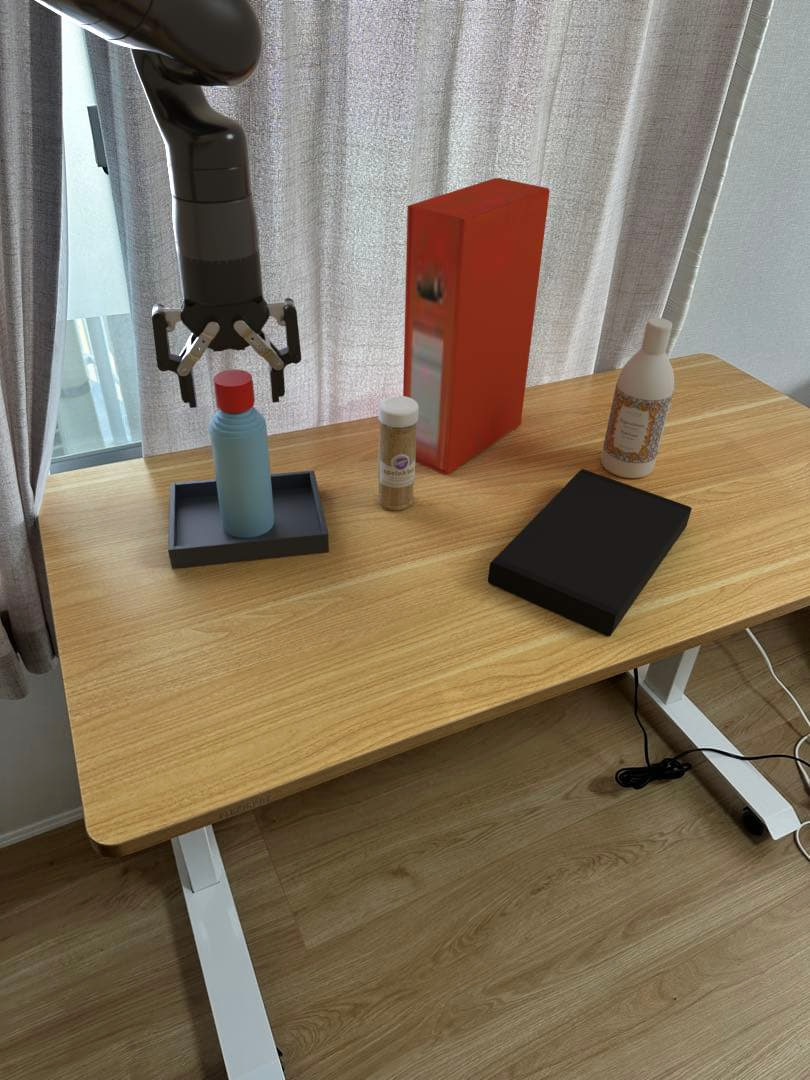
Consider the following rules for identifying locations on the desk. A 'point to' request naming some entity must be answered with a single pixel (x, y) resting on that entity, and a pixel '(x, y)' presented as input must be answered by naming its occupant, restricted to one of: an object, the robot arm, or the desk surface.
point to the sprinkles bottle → (397, 451)
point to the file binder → (470, 315)
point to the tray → (207, 543)
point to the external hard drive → (590, 550)
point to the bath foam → (640, 406)
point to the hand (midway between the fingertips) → (234, 401)
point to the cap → (234, 391)
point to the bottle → (242, 472)
